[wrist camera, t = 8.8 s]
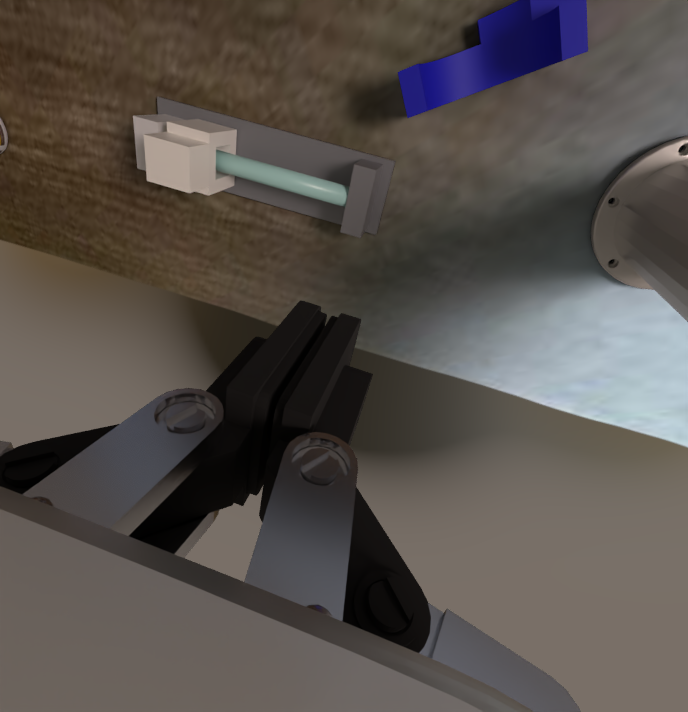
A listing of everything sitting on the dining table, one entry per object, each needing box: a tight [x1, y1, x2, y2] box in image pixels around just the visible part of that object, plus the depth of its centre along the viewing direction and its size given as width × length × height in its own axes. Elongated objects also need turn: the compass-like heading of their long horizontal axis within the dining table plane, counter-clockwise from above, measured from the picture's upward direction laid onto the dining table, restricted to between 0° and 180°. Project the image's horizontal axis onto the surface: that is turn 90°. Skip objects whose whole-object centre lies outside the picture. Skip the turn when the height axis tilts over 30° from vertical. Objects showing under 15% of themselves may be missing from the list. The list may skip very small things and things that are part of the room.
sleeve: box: [144, 119, 237, 196], centre depth 37 cm, size 4×5×8 cm
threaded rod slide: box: [133, 97, 395, 238], centre depth 38 cm, size 24×7×5 cm, turn 78°
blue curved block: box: [398, 0, 588, 118], centre depth 30 cm, size 12×4×6 cm, turn 109°
